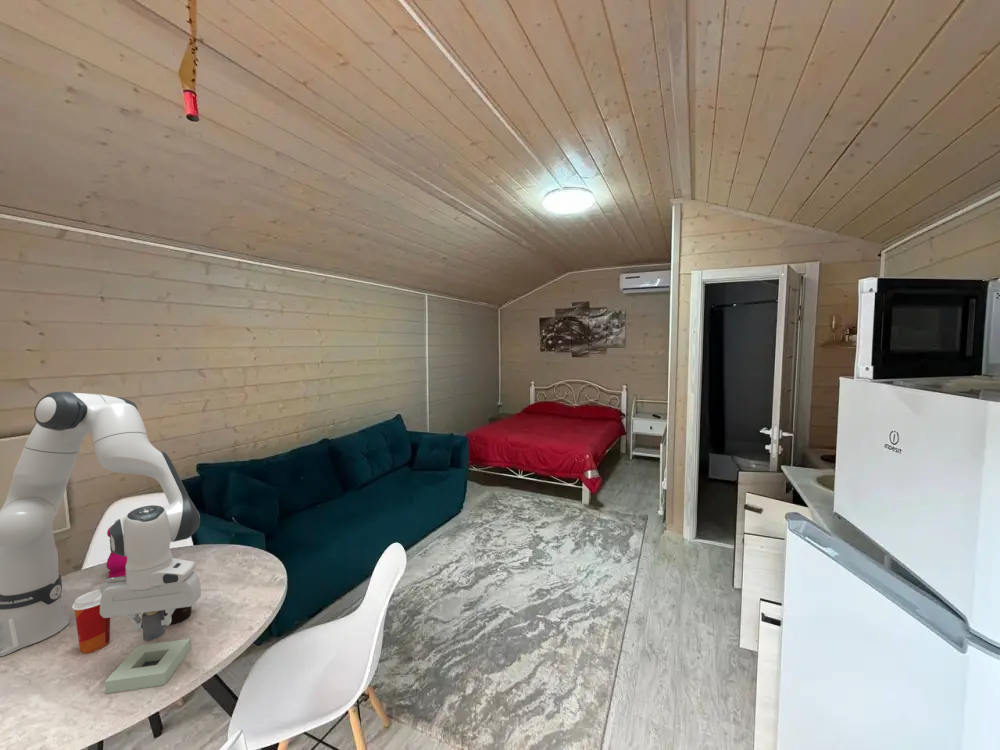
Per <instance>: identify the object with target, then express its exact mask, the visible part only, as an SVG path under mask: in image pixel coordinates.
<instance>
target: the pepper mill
mask: <svg viewBox="0 0 1000 750" xmlns="http://www.w3.org/2000/svg"><path fill="white" fill-rule="evenodd" d="M119 519H120V518H119ZM119 519H116V520H115V521H114V523H115V522H116V521H117V520H119ZM112 526H113V525H111V526H110V527H108V529H107V533H106V535H107V537H108V538H110V532H109V529H110V528H111V527H112ZM126 563H127V556H124V557H123V556H120V555H117V554H115V553H112V552H111V551H110V554H109V556H108V557H107V561H106V566H105V567H106V568H107V569H108V570H109V571H108V578H111V577H121V576H126Z"/></svg>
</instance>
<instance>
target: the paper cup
mask: <svg viewBox="0 0 1000 750" xmlns="http://www.w3.org/2000/svg"><path fill="white" fill-rule="evenodd" d="M101 596H102V595H101V592H100V589H96V590H91V591H88V592H85V593H84V594H81V595H80V596H78V597H77V598H75V600H74V603H73V604H72V605H71V607H72V609H73V610H74V618H75V624H76V625H75V626H76V631H77V637H78V645H79V650H80V653H81V654H91V653H94V652H97V651H100V650H101V649H103V648H105V647H106V646H108V644H109V643H110V634H111V631H110V630H111V617H109V618H103V617H102V616H101V615H100V601H101Z"/></svg>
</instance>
